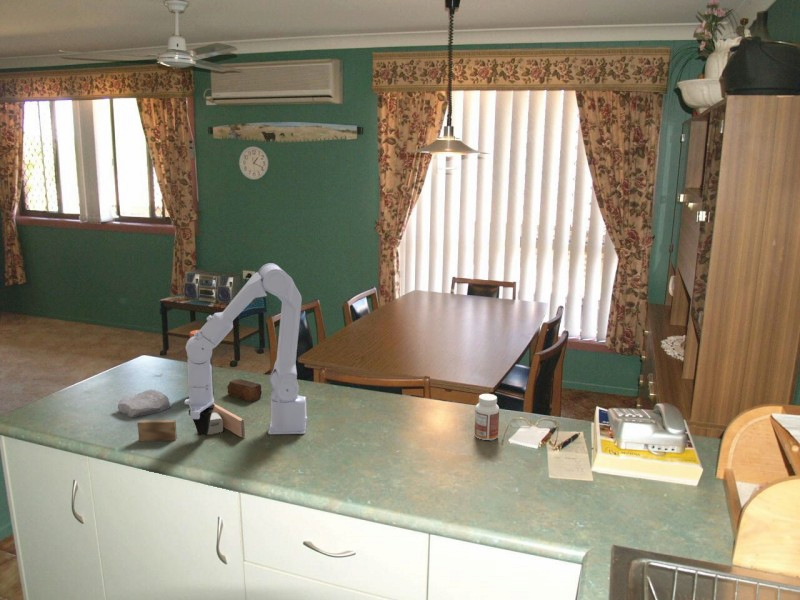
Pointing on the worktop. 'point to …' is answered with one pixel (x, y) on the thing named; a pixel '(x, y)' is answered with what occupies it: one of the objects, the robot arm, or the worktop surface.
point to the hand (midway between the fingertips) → (203, 434)
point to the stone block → (144, 403)
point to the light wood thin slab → (231, 421)
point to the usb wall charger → (215, 424)
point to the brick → (244, 389)
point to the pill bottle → (487, 417)
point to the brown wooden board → (157, 430)
